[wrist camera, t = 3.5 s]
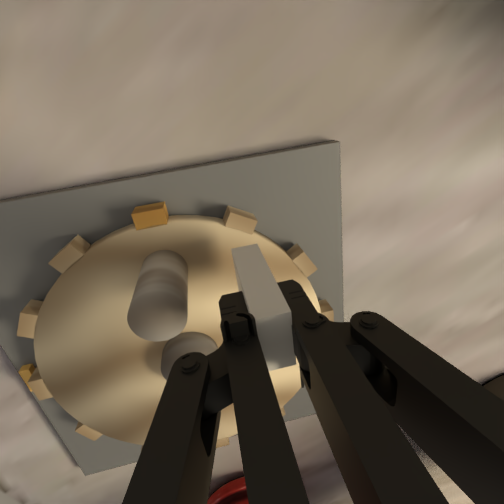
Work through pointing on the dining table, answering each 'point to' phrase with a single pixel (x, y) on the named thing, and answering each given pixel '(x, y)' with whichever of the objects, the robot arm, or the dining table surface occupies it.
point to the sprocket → (146, 316)
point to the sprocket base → (177, 203)
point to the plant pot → (230, 493)
